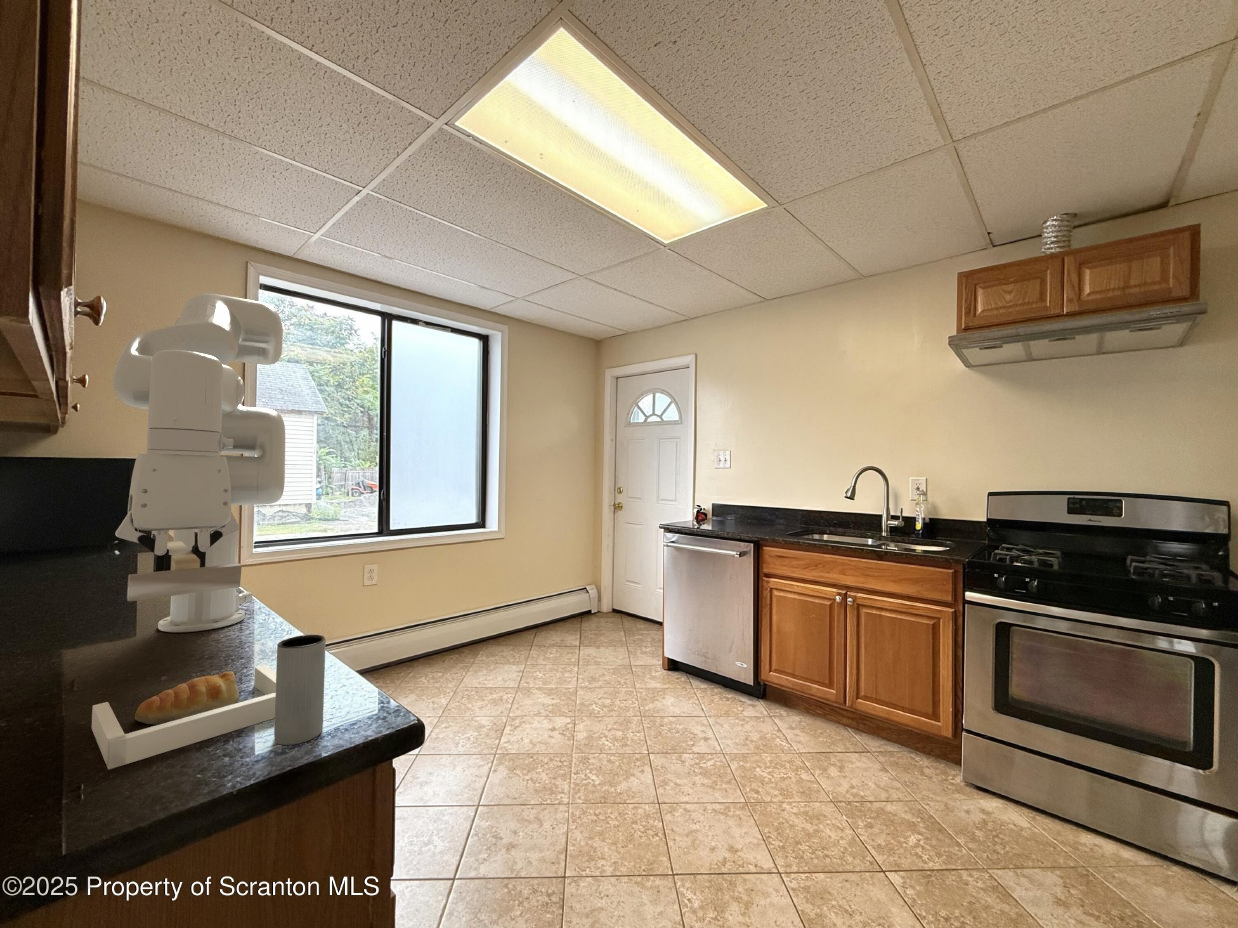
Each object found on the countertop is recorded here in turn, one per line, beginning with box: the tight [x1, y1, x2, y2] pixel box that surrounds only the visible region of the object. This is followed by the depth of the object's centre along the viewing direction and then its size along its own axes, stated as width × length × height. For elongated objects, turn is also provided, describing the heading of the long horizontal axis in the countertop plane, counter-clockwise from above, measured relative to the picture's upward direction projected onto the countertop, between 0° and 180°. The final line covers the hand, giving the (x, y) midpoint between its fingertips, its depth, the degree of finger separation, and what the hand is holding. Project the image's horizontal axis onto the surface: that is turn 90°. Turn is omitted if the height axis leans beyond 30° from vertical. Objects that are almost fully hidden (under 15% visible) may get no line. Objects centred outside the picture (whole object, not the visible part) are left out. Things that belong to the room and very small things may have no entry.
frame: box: [91, 664, 276, 770], centre depth 59 cm, size 12×16×2 cm
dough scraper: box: [126, 541, 243, 602], centre depth 68 cm, size 12×11×4 cm
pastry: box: [134, 670, 240, 725], centre depth 61 cm, size 9×7×4 cm
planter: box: [273, 634, 327, 746], centre depth 56 cm, size 4×4×10 cm
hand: (179, 581), depth 68 cm, fingers closed on dough scraper, 2 cm apart
